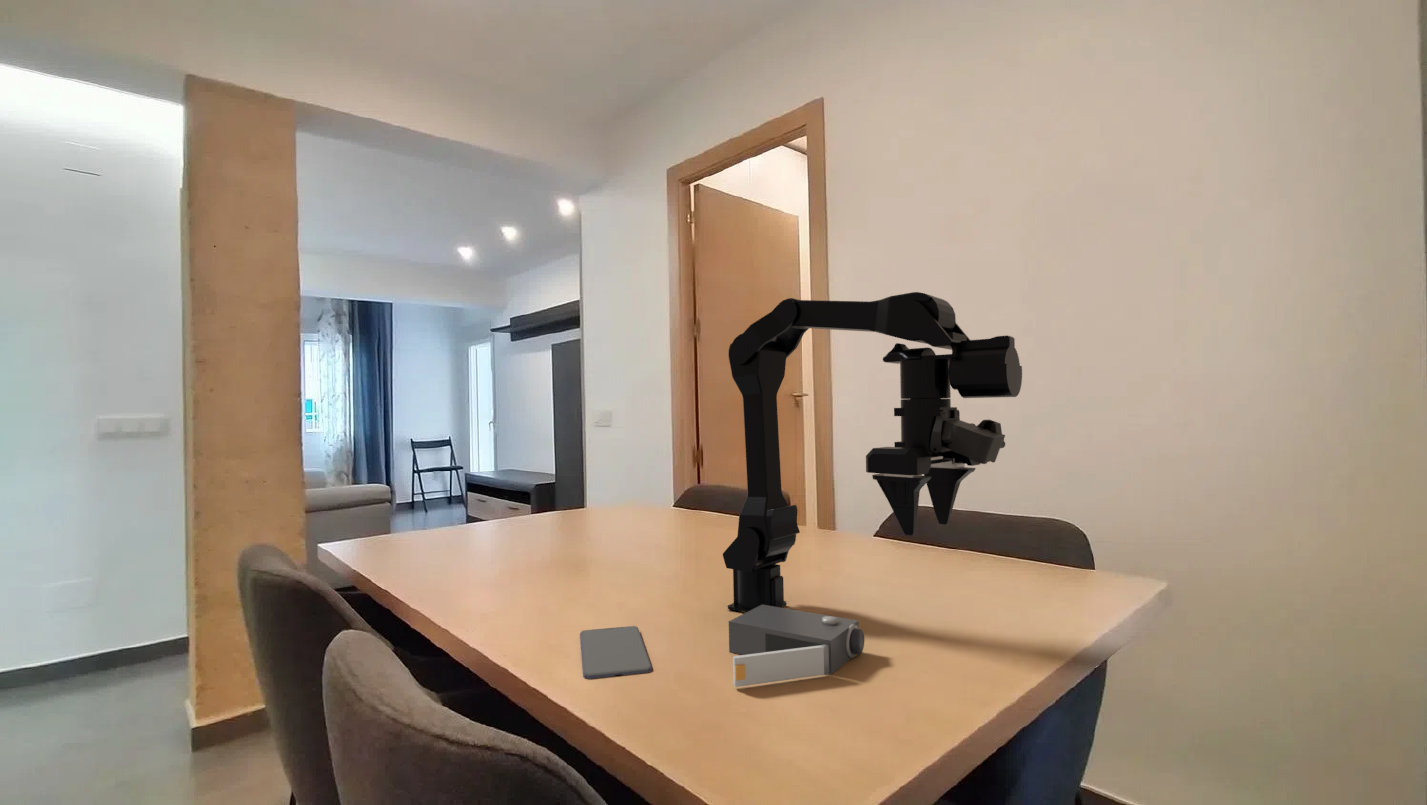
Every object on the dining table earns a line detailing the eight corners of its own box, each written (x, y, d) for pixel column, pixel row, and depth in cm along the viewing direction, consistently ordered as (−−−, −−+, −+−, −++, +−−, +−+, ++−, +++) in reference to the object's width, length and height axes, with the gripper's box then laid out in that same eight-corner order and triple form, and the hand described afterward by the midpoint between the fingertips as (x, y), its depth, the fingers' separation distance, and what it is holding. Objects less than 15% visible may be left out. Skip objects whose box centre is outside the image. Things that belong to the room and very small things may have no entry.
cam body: (728, 652, 76) (728, 617, 76) (762, 632, 83) (761, 600, 83) (840, 676, 69) (838, 637, 69) (867, 653, 75) (866, 617, 75)
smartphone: (583, 675, 69) (579, 629, 84) (583, 684, 69) (579, 637, 84) (653, 668, 71) (637, 624, 86) (653, 677, 71) (637, 631, 85)
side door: (736, 688, 65) (735, 659, 65) (733, 684, 66) (732, 656, 66) (831, 675, 68) (830, 647, 68) (827, 671, 69) (826, 644, 69)
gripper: (960, 396, 65) (962, 551, 65) (1022, 398, 79) (1024, 526, 79) (862, 399, 73) (864, 537, 73) (934, 400, 87) (936, 517, 86)
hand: (927, 529), depth 77 cm, fingers open, 9 cm apart
